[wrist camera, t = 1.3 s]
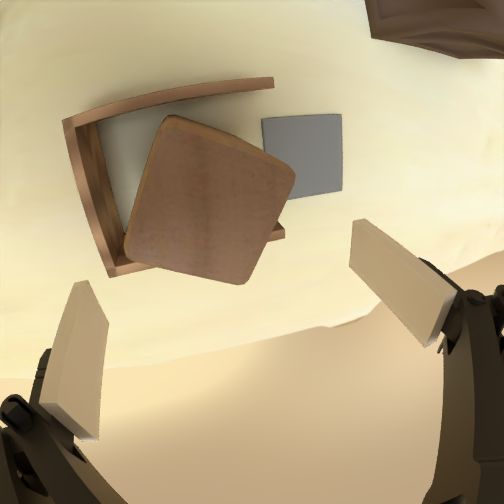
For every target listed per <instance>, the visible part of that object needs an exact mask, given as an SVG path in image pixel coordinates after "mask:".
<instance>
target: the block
mask: <svg viewBox="0 0 504 504" xmlns="http://www.w3.org/2000/svg"><path fill="white" fill-rule="evenodd" d="M295 178H296V174H295V172H294V171H293V170H292V168H291V167H290V166H289V165H288V164H286V163H284V162H282V161H281V160H279V159H277V158H275V157H273V156H272V155H270V154H268V153H266V152H264V151H262V150H261V149H259V148H257V147H255V146H253V145H251V144H249V143H247V142H245V141H243V140H241V139H240V138H238V137H236V136H233V135H231V134H228V133H226V132H223V131H220V130H218V129H215V128H212V127H209V126H206V125H204V124H201V123H198V122H195V121H192V120H189V119H186V118H183V117H180V116H177V115H168V116H167V117H166V118H165V119H164V121H163V123H162V124H161V126H160V128H159V130H158V132H157V134H156V137H155V140H154V142H153V145H152V148H151V151H150V154H149V157H148V160H147V163H146V166H145V169H144V172H143V175H142V178H141V182H140V185H139V188H138V192H137V195H136V198H135V202H134V206H133V209H132V213H131V217H130V220H129V224H128V228H127V232H126V236H125V241H124V250H125V254H126V257H127V258H129V259H130V260H132V261H134V262H138V263H142V264H146V265H150V266H154V267H158V268H163V269H167V270H171V271H175V272H180V273H184V274H189V275H193V276H197V277H202V278H206V279H211V280H216V281H220V282H225V283H230V284H234V285H242V284H245V283H246V282H247V281H248V280H249V278H250V276H251V274H252V272H253V270H254V268H255V266H256V264H257V262H258V260H259V258H260V256H261V253H262V251H263V249H264V247H265V245H266V243H267V241H268V239H269V237H270V235H271V233H272V230H273V228H274V226H275V224H276V222H277V220H278V218H279V216H280V214H281V212H282V209H283V207H284V205H285V203H286V201H287V199H288V197H289V195H290V193H291V190H292V188H293V186H294V184H295Z"/></svg>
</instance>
